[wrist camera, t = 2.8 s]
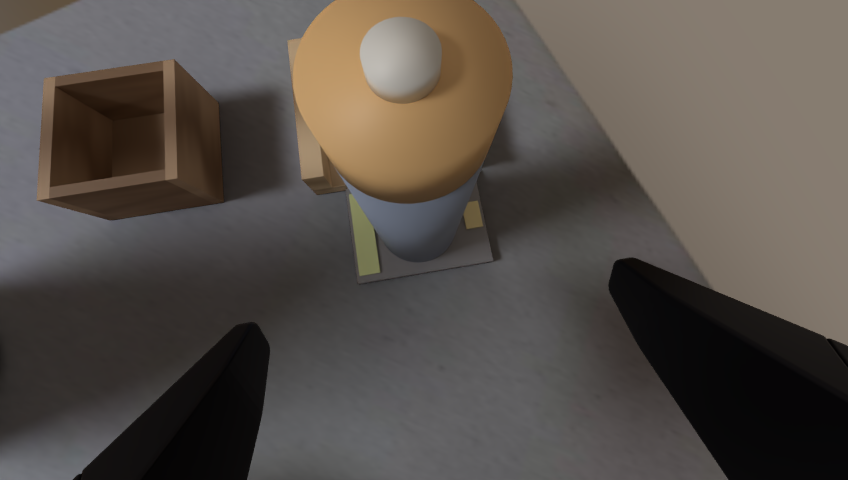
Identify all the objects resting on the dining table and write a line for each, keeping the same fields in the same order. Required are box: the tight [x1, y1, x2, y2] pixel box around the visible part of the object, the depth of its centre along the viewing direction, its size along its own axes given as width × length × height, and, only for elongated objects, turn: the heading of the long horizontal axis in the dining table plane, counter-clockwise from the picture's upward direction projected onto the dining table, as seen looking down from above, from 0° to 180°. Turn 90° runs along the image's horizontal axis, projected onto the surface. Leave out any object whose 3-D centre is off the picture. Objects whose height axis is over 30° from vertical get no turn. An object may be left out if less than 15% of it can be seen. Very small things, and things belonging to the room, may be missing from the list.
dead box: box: [37, 59, 224, 220], centre depth 19 cm, size 7×7×4 cm
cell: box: [293, 0, 513, 262], centre depth 13 cm, size 5×5×14 cm
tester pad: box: [345, 181, 493, 284], centre depth 20 cm, size 6×8×1 cm
